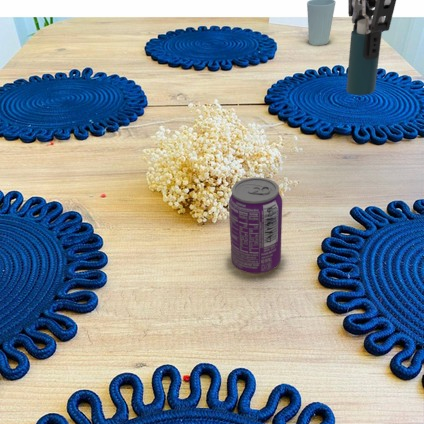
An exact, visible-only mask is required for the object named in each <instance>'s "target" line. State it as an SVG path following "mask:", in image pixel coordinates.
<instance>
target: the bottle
mask: <svg viewBox="0 0 424 424" xmlns="http://www.w3.org/2000/svg"><path fill="white" fill-rule="evenodd" d="M365 33H366V19H362V20H359V21H358V23H357V29H355V30H353V29H352V31H351V33H350V41H349V42H350V43H349V56H348V67H347V68H348V69H347V76H346V80H347V81H346V92H347V93H348V94H350V95H353V96H354V95H355V96H367V95H371V94H373V93H374V92H375V91H376V83H377V75H378V68H379V58H380V54H379V55H378V57H377V58H376V59H369V60H366V59H365V58H364V57H363V52H364V42H365ZM382 34H383V32H381V38H380V45H381V42H382ZM380 52H381V46H380V47H379V53H380Z"/></svg>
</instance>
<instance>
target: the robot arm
mask: <svg viewBox="0 0 424 424" xmlns="http://www.w3.org/2000/svg"><path fill="white" fill-rule="evenodd" d="M396 3H397V0H348V3H347V5H348V6H347V7H348V12H347V13H348V17H351V23H352V25H353V28H352V31H353V30H355V29H357V23H358V21H359V20H362V19H366V33H365V42H364V52H363V57H364V58H365V59H366V60H369V59H376V58H377V57H378V55H379V56H380V52H379V47H380V48H381V44H380V38H381V39H382V36H381V32H382V33H384V32H388V31H389V30H390V27H391V23H392V19H393V15H394V11H395V8H396Z"/></svg>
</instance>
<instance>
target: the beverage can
mask: <svg viewBox="0 0 424 424" xmlns="http://www.w3.org/2000/svg"><path fill="white" fill-rule="evenodd" d="M228 216H229V218H228V219H229V233H230V234H229V237H230V259H231V263H232V265H233V266H234V267H235V268H236V269H237V270H240V271H242V272H244V273H249V274H263V273H268V272H270V271H272V270H274V269H275V268H277V267H278V266H279V264H280V263H281V261H282V229H283V227H282V226H283V198H282V196H281V194H280V187H279V185H278V183H277V182H275V181H273V180H272V179H270V178H266V177H247V178H243V179H241V180H238V181H237V182H235V183H234V184H233V186H232V187H231V195H230V197H229V200H228Z"/></svg>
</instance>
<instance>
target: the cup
mask: <svg viewBox="0 0 424 424" xmlns="http://www.w3.org/2000/svg"><path fill="white" fill-rule="evenodd" d="M306 8H307V11H306V12H307V29H308V31H307V32H308V43H309V45H312V46H324V45H326V44H328V43H329V42H330V36H331V30H332V24H333V18H334V13H335V8H336V0H308V1H307V2H306Z"/></svg>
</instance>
